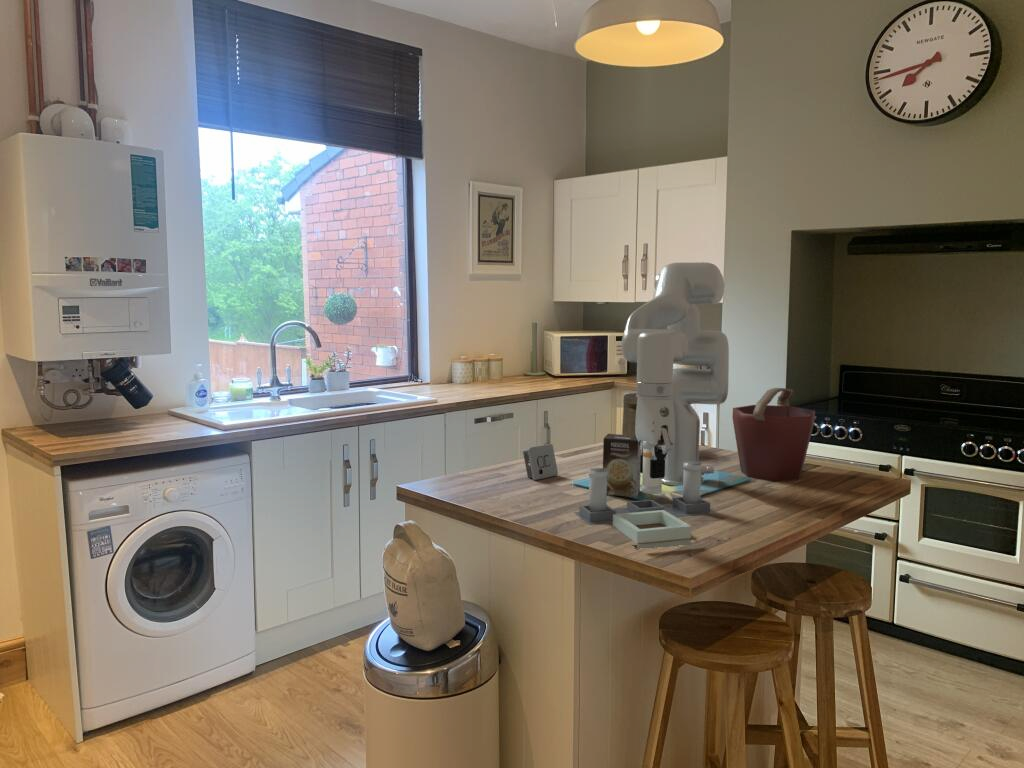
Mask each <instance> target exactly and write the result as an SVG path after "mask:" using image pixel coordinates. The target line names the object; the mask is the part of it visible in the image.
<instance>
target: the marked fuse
mask: <svg viewBox="0 0 1024 768" xmlns="http://www.w3.org/2000/svg"><path fill="white" fill-rule="evenodd" d="M657 445H661V442H658V444H657ZM658 449H661V448H656V450H657V451H658ZM651 459H652V447H651V445H650V444H648V443H646V442H644V441H643V473H642V484H641V493H643V494H648V495H649V494H650V495H659V494H662V489H663V486H662V483H661V478H654V479H652V478H650V460H651Z"/></svg>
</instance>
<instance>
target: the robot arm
mask: <svg viewBox="0 0 1024 768" xmlns="http://www.w3.org/2000/svg"><path fill="white" fill-rule="evenodd" d="M659 271H660V272H659V273H658V274H657V275H656V276H655V278H654V284H653V285H654V289H655V290H654V294H653V297H652V299H650V300H648V302H647V301H646V303H644V304H642V305H641V306H640V307H639V308H637V309H636V310H634V311H633V312H632V313H631V314H630V315H629V317H628V319H627V320H626V324H625V326H624V331H623V334H622V338H621V347H620V348H621V354H622V356H623V358H624V359H625V360H626V361H627V362H630V363H636V390H635V391H636V392H635V393H636V397H638V399H637V407H636V420H635V434H636V438H637V440H638V442H639V446H640V454H641V455H640V474H643V441H644V442H646V443H648V444H650V445H651V447H652V459H651V460H650V478H652V479H654V478H661V484H663V483H664V485H667V486H672V485H673V486H672V487H677V486H679V487H680V486H681V487H683V475H684V469H683V463H684V462H688V461H694V462H700V461H699V458H700V457H699V456H700V432H701V431H700V430H701V429H700V428H701V422H700V421H701V420H700V417H699V415H698V412H696V410H695V409H694V408H693V406H692V405H696V404H697V405H722V404H723V403H725V402H726V401H727V399H728V395H729V394H728V393H729V371H730V368H729V366H730V364H729V363H730V362H729V359H730V352H729V350H730V347H729V340H728V337H727V335H726V334H725V333H724V332H722V331H719V330H705V329H704V330H702V329H701V313H700V310H699V308H698V306H697V305H704V306H705V305H706V306H707V305H712V306H714V305H718V304H719V303H720V302H721V301H722V299H723V296H724V293H725V281H724V277H723V275H722V273H721V270H720V268H719V267H718V266H717V265H715V264H713V263H711V262H704V261H703V262H700V261H699V262H671V263H669V264H666V265H665V266H663V267H662V268H661V270H659ZM666 327H667V329H666ZM664 328H665V329H664ZM674 365H680V366H695V367H696V366H698V367H699V366H701V367H703V366H704V367H708V368H706V369H705V368H704V369H703V368H690V367H689V368H687V367H685V368H684V367H679V368H678V367H677V368H674ZM709 368H710V369H709ZM658 442H661V445H657V444H658ZM656 448H661V449H658V451H657V450H656ZM714 473H715V468H714V466H705V465H702V469H701V485H702V484H703V483H704V480H705V478H704V477H703V476H704V475H705V474H706V475H710V474H712V475H713V474H714Z"/></svg>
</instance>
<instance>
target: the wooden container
mask: <svg viewBox="0 0 1024 768" xmlns="http://www.w3.org/2000/svg"><path fill="white" fill-rule="evenodd" d="M637 399H638V397H636V392H634V393H633V392H630V393H626V394H625V393H624V395H623V408H622V409H623V411H622V426H621V427H622V429H621V431H622V432H621V435H630V436H636V434H635V420H636V407H637Z"/></svg>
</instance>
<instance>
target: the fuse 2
mask: <svg viewBox="0 0 1024 768" xmlns="http://www.w3.org/2000/svg"><path fill="white" fill-rule="evenodd" d="M702 466H703V465H702V462H700V461H699V462H694V461H688V462H684V463H683V469H684V475H683V485H682V497H683V502H684V503H686V504H695V503H700V498H701V485H702V484H701V469H702Z"/></svg>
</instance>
